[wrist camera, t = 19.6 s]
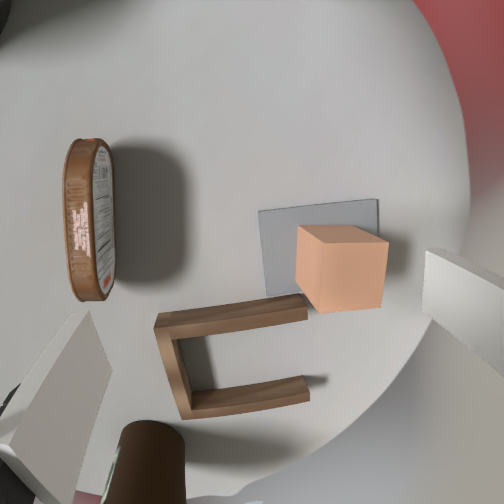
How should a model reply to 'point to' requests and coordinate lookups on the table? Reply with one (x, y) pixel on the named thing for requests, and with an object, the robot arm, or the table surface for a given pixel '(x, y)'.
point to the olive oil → (147, 466)
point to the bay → (219, 322)
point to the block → (340, 267)
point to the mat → (286, 228)
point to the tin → (89, 219)
